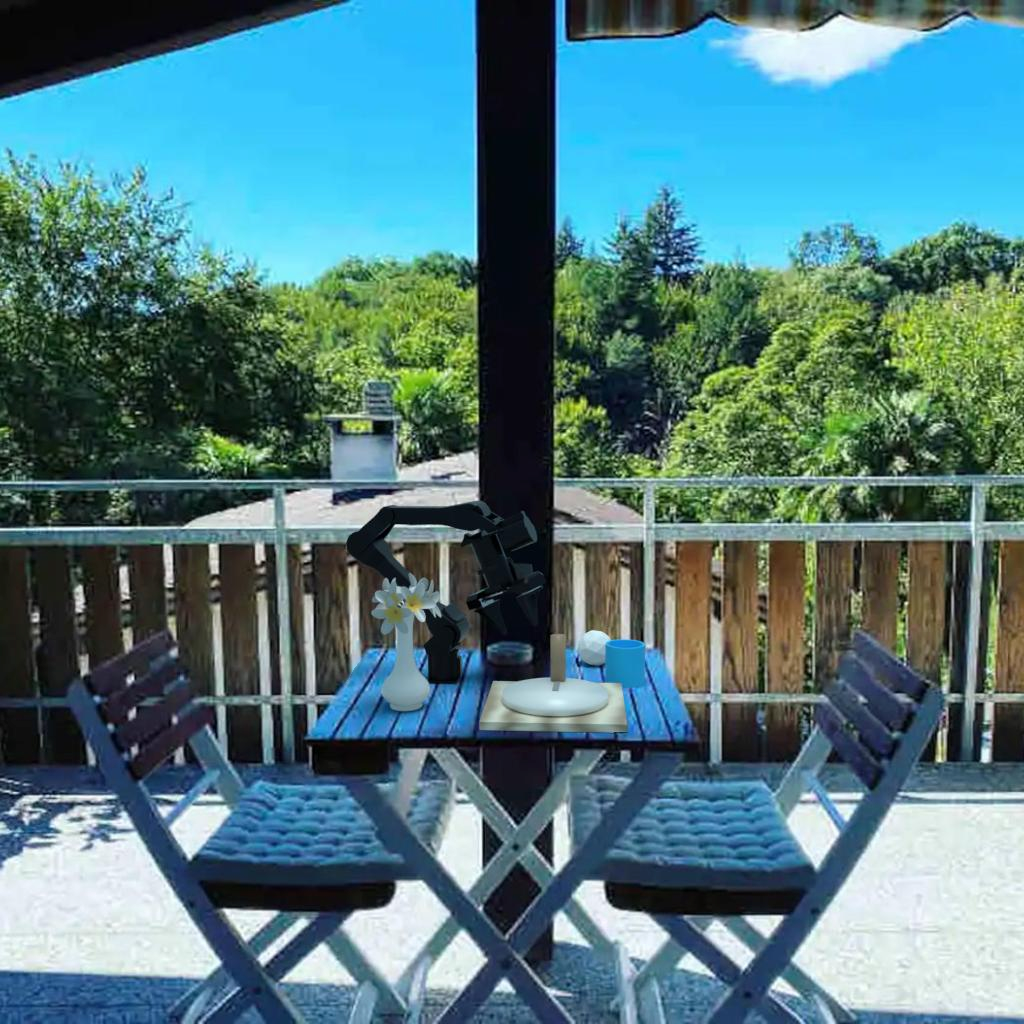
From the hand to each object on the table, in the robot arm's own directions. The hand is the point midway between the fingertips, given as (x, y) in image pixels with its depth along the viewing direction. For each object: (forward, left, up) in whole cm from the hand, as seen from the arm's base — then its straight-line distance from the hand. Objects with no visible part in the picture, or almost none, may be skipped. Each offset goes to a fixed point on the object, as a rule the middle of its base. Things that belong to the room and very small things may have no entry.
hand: (520, 629), depth 199 cm
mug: (+22, +5, -12) cm, 25 cm away
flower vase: (-20, -17, -12) cm, 29 cm away
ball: (+16, +17, -12) cm, 26 cm away
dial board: (+8, -16, -12) cm, 21 cm away
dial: (+8, -16, -10) cm, 20 cm away
